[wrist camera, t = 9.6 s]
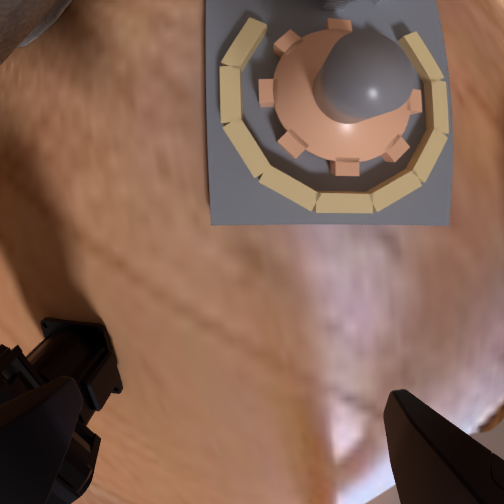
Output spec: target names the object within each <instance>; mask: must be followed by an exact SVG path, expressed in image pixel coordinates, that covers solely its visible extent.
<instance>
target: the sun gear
mask: <svg viewBox="0 0 504 504" xmlns="http://www.w3.org/2000/svg"><path fill="white" fill-rule="evenodd" d="M320 1H321V4H322V11H335V12H344V10H345V8H346V6H347V4H348V3H349V2H353V1H358V0H320ZM369 1H370V2H372V3H373V4H374V5H376V4H378V3H379V2H380V1H382V0H369Z"/></svg>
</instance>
